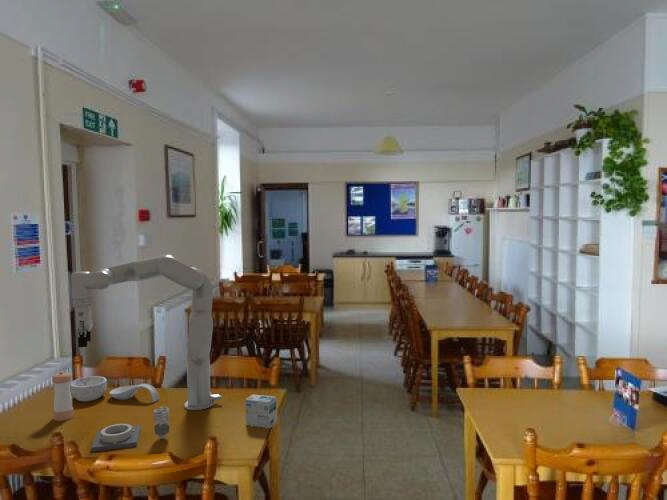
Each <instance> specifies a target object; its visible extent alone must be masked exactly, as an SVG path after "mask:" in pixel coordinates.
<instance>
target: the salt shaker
mask: <svg viewBox="0 0 667 500" xmlns="http://www.w3.org/2000/svg"><path fill="white" fill-rule="evenodd" d="M71 380H72V375H71V374H70V373H69V372H64V371H62V370H61V371H59V373H56V374H54V375H53V376H52V378H51V381H52V383H53V384H54V396H53V397H54V398H53V407H54V408H53V412H52V413H53V415H52V416H53V420H54V421H56V422H57V421H58V422H62V421H68V420H70V419H72V418H73V417H74V407H73V398H72V397H73V396H71V393H70V383H71V382H70V381H71Z"/></svg>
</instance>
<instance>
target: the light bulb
mask: <svg viewBox="0 0 667 500" xmlns="http://www.w3.org/2000/svg"><path fill="white" fill-rule="evenodd" d="M153 419H154V420H153V422H154V423H156V424H155V425H154V429H153V430H154V434H155V435H156V436H158V438H159V439H161V440H163V439H165V438H166V437H167V434H169V433H170V423H169V420H170V409H169V407H167V406H159V407H158V408H157V409H154V410H153Z"/></svg>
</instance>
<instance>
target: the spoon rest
mask: <svg viewBox="0 0 667 500" xmlns="http://www.w3.org/2000/svg"><path fill="white" fill-rule="evenodd" d="M140 389H145V390H147V391H148V393H149V394H150V397H151V403H156V402H157V401H159V400H160V394H159V392H158V391H157V389H156V388H155V387H154V386H152V385H150V384H149V383H140V384H137V385H135V384H132V385H124V386H120V387H116V388H113V389H112V390H110V391H109V392H108V393H109V395H110V396H111V397H112V398H113V399H115V400H120V401H126V400H129V399H131V398H132V397H134V396H135V395H136V393H137V392H138V391H140Z"/></svg>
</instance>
